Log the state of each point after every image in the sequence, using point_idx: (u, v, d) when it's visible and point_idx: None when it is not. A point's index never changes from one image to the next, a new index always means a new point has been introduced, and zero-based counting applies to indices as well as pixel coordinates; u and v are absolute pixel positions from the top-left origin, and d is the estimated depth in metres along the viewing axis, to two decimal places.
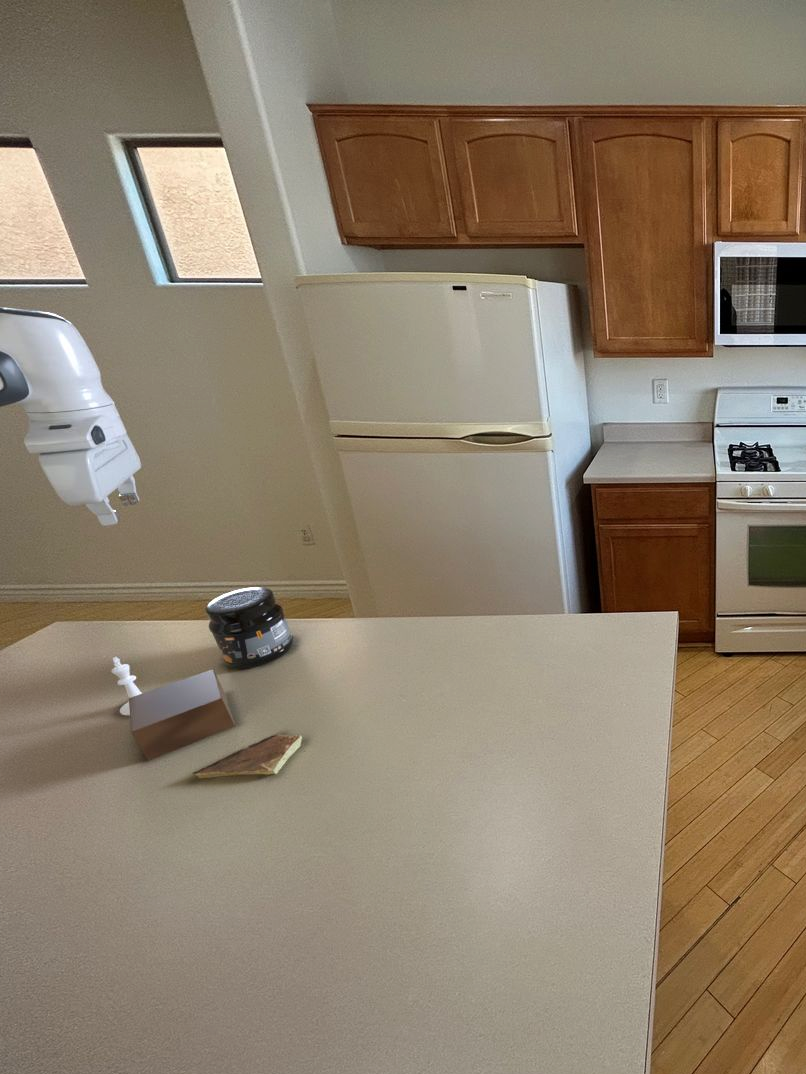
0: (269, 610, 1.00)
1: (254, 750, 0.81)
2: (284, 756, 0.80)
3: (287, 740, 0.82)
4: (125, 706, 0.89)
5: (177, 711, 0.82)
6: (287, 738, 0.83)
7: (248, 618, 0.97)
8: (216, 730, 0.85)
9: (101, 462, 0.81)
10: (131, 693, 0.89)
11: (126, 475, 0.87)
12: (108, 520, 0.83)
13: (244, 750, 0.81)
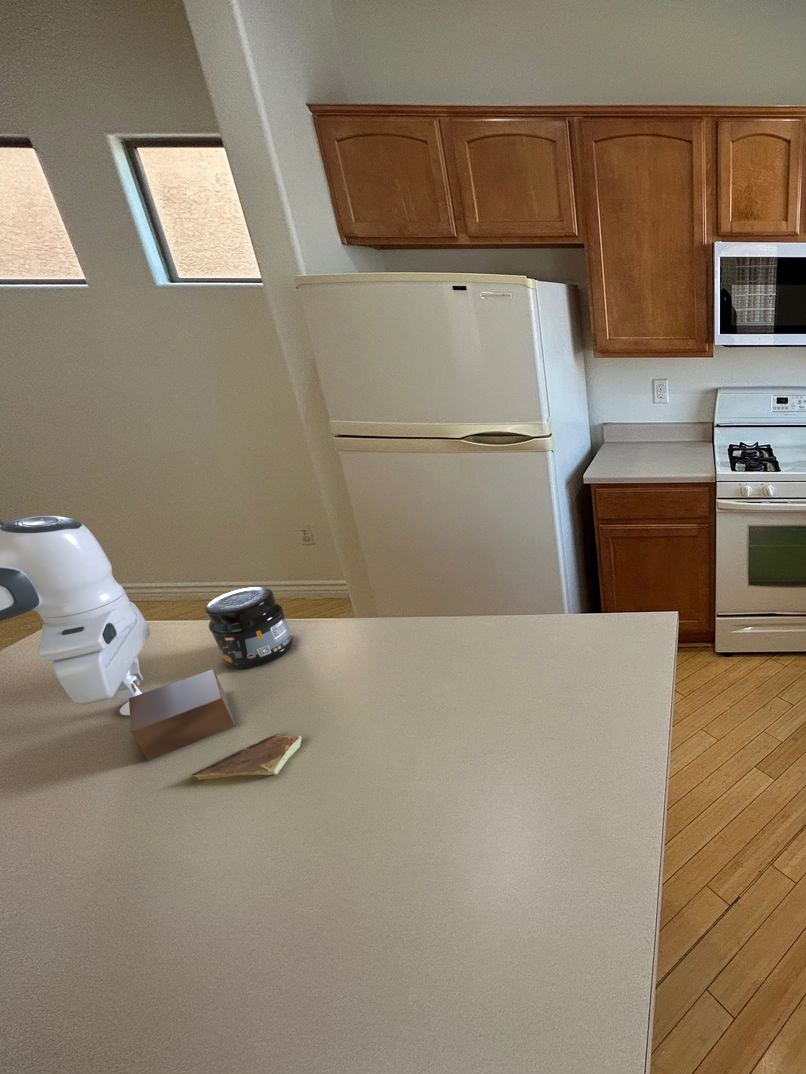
0: (269, 609, 1.00)
1: (254, 751, 0.80)
2: (284, 756, 0.80)
3: (287, 740, 0.82)
4: (125, 706, 0.89)
5: (177, 711, 0.82)
6: (286, 739, 0.83)
7: (248, 618, 0.97)
8: (216, 730, 0.85)
9: (112, 652, 0.84)
10: None
11: (136, 653, 0.89)
12: (125, 695, 0.87)
13: (243, 751, 0.81)
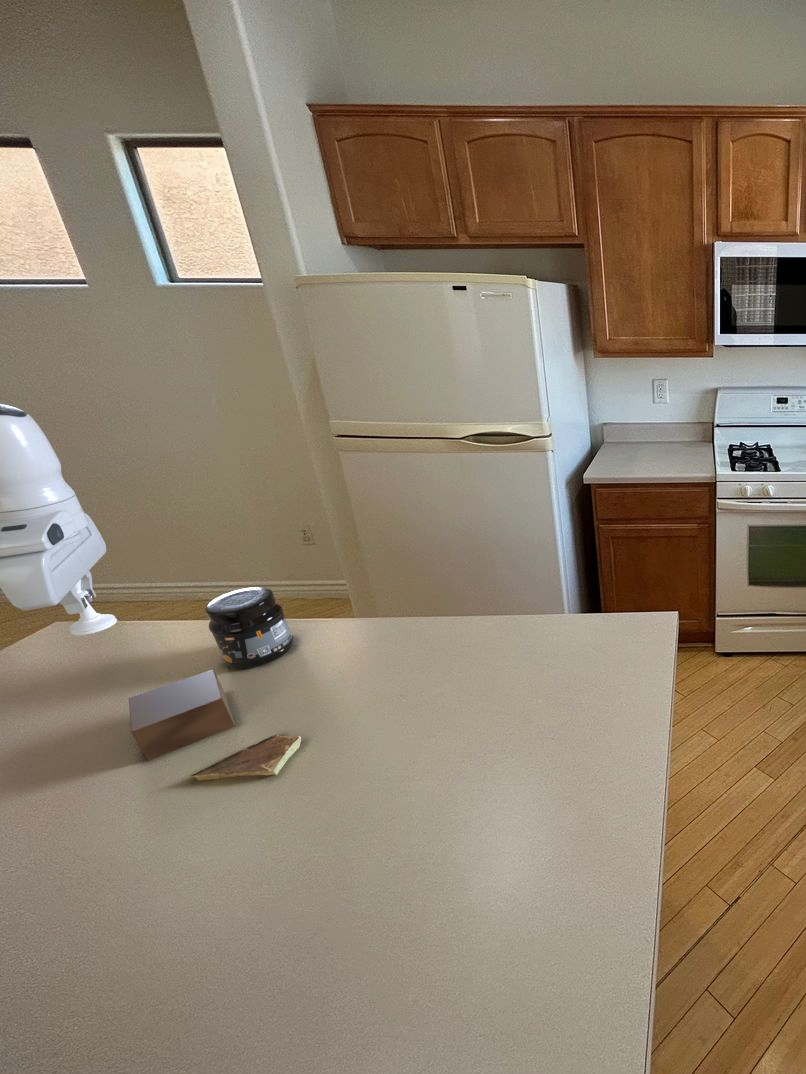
0: (269, 609, 1.00)
1: (253, 752, 0.80)
2: (284, 757, 0.80)
3: (287, 741, 0.82)
4: (75, 624, 0.83)
5: (177, 711, 0.82)
6: (286, 739, 0.83)
7: (248, 618, 0.97)
8: (216, 730, 0.85)
9: (59, 559, 0.77)
10: None
11: (88, 566, 0.82)
12: (75, 609, 0.80)
13: (243, 751, 0.80)
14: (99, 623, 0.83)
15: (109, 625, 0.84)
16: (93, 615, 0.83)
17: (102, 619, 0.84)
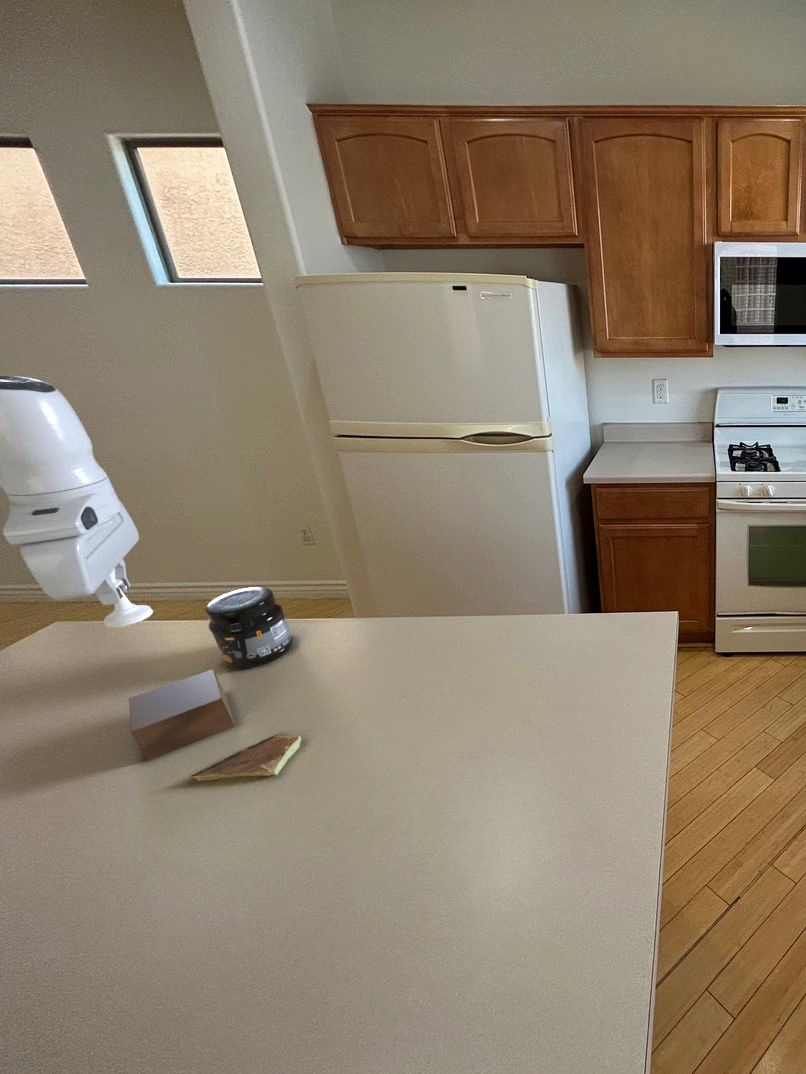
0: (269, 609, 1.00)
1: (253, 752, 0.80)
2: (284, 757, 0.80)
3: (287, 741, 0.82)
4: (110, 615, 0.78)
5: (177, 711, 0.82)
6: (286, 739, 0.83)
7: (248, 618, 0.97)
8: (216, 730, 0.85)
9: (93, 545, 0.72)
10: None
11: (122, 554, 0.77)
12: (110, 599, 0.75)
13: (243, 752, 0.80)
14: (135, 614, 0.78)
15: (145, 616, 0.79)
16: (128, 606, 0.78)
17: (138, 610, 0.79)
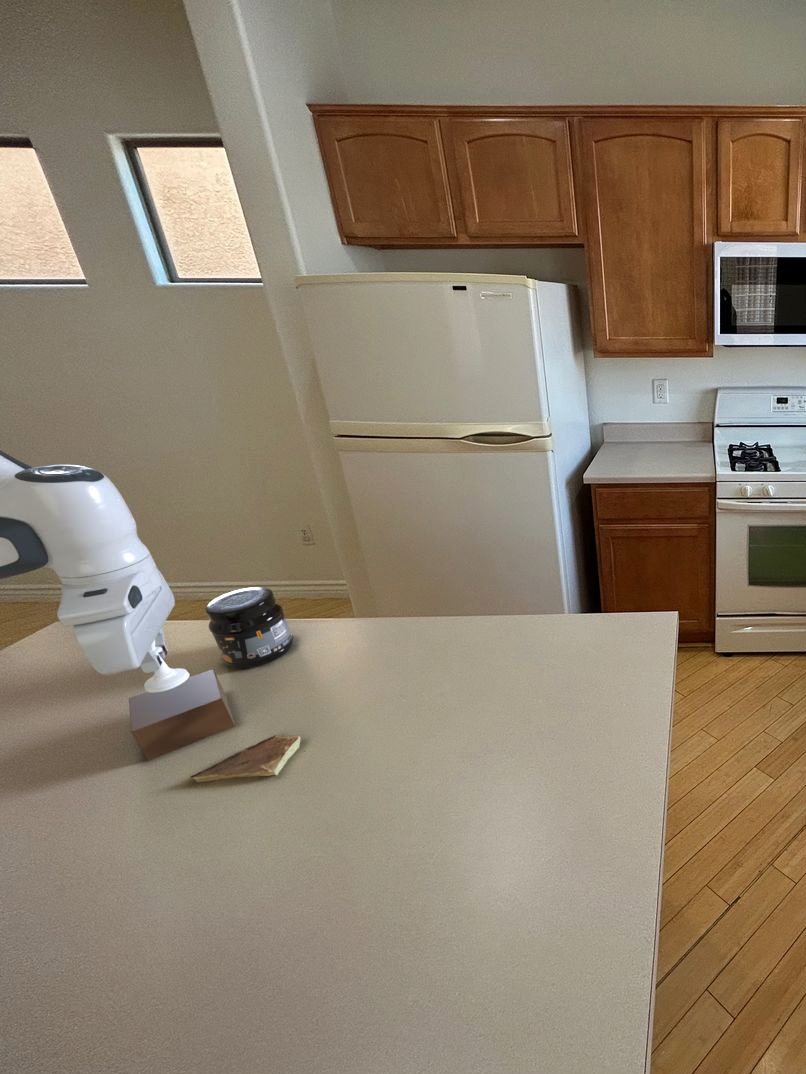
0: (269, 609, 1.00)
1: (253, 752, 0.80)
2: (284, 757, 0.80)
3: (286, 741, 0.82)
4: (150, 680, 0.82)
5: (177, 711, 0.82)
6: (286, 739, 0.83)
7: (248, 618, 0.97)
8: (216, 730, 0.85)
9: (137, 619, 0.76)
10: None
11: (161, 622, 0.81)
12: (151, 667, 0.79)
13: (242, 753, 0.80)
14: (173, 679, 0.82)
15: (183, 680, 0.83)
16: (167, 671, 0.82)
17: (176, 674, 0.83)
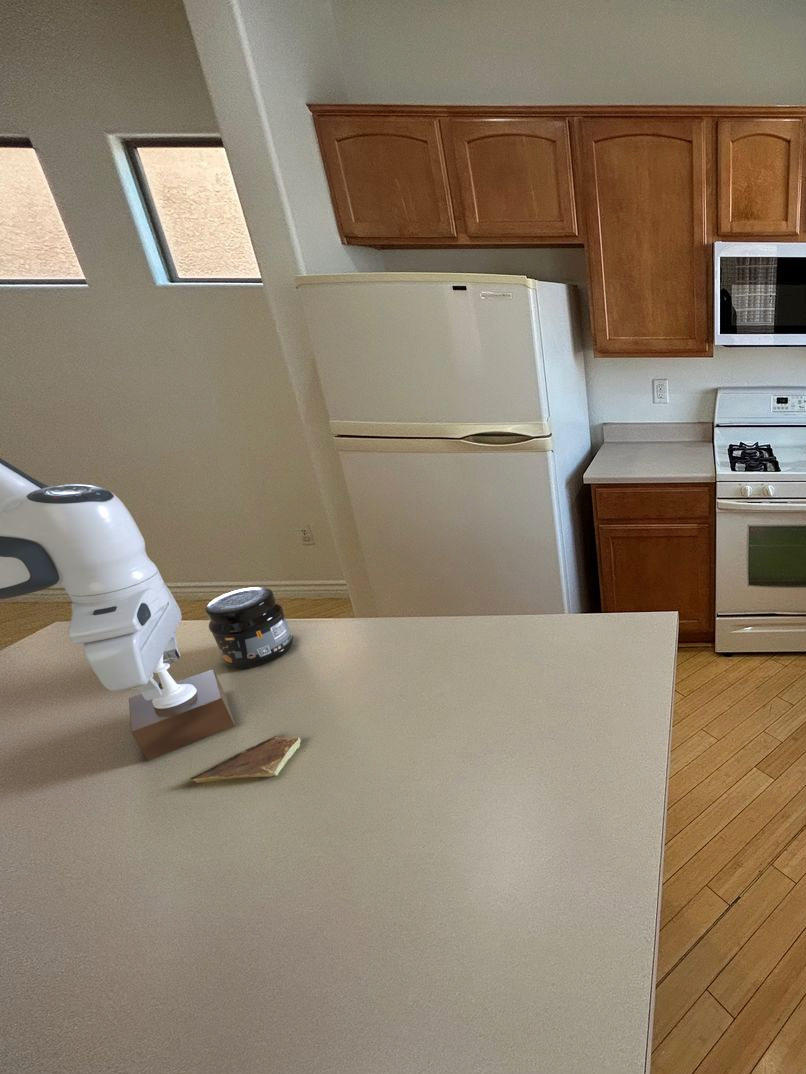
0: (269, 609, 1.00)
1: (253, 754, 0.80)
2: (284, 758, 0.80)
3: (286, 742, 0.82)
4: None
5: (177, 711, 0.82)
6: (285, 740, 0.83)
7: (248, 618, 0.97)
8: (216, 730, 0.85)
9: (145, 636, 0.77)
10: (165, 683, 0.82)
11: (169, 637, 0.83)
12: (152, 694, 0.78)
13: (242, 754, 0.80)
14: (181, 695, 0.83)
15: (190, 696, 0.84)
16: (175, 687, 0.83)
17: (183, 690, 0.84)
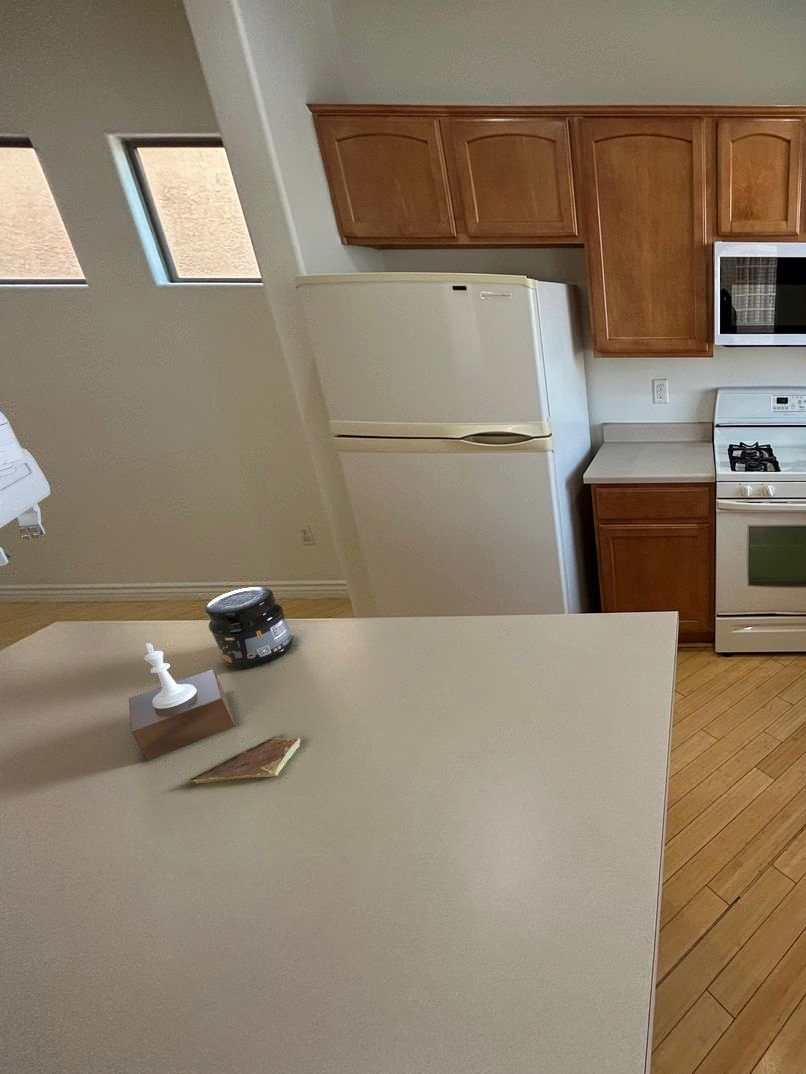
0: (269, 609, 1.00)
1: (253, 754, 0.80)
2: (284, 758, 0.80)
3: (286, 743, 0.82)
4: (158, 696, 0.83)
5: (177, 711, 0.82)
6: (285, 741, 0.83)
7: (248, 618, 0.97)
8: (216, 730, 0.85)
9: None
10: (165, 683, 0.82)
11: (25, 505, 0.74)
12: None
13: (242, 755, 0.80)
14: (181, 695, 0.83)
15: (190, 696, 0.84)
16: (175, 687, 0.83)
17: (183, 690, 0.84)
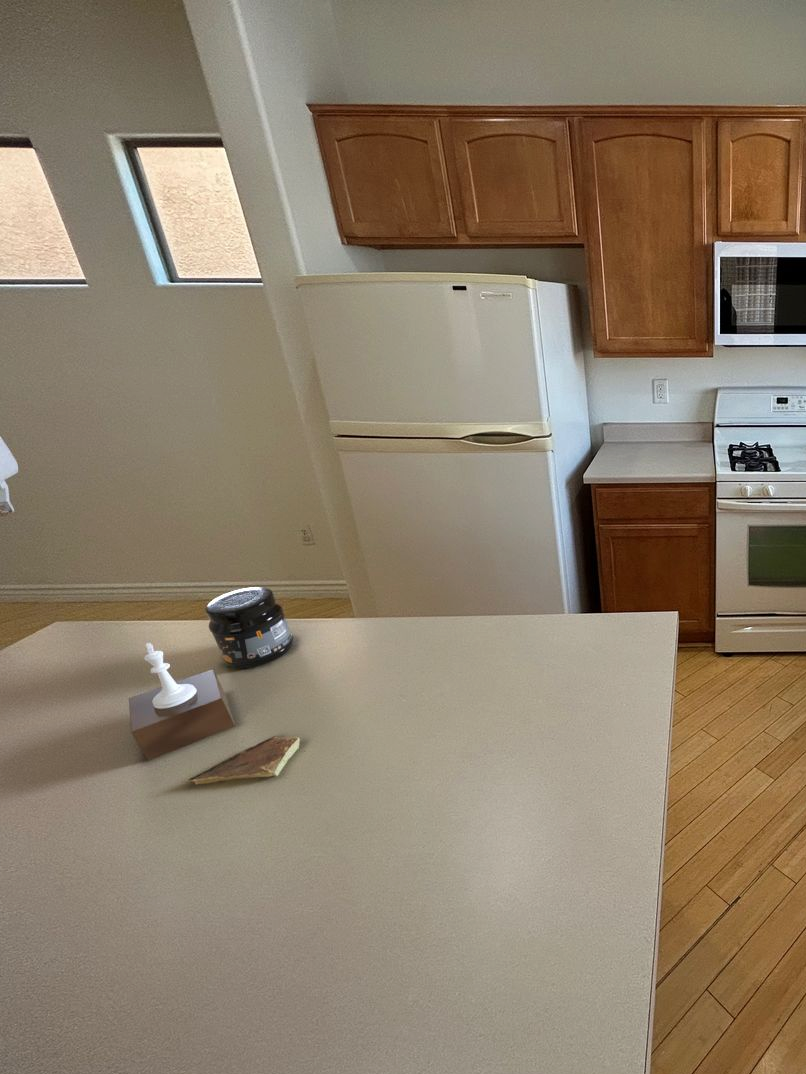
0: (269, 609, 1.00)
1: (252, 754, 0.80)
2: (284, 758, 0.80)
3: (285, 742, 0.82)
4: (158, 696, 0.83)
5: (177, 711, 0.82)
6: (285, 740, 0.82)
7: (248, 618, 0.97)
8: (216, 730, 0.85)
9: None
10: (165, 683, 0.82)
11: None
12: None
13: (241, 754, 0.80)
14: (181, 695, 0.83)
15: (190, 696, 0.84)
16: (175, 687, 0.83)
17: (183, 690, 0.84)
